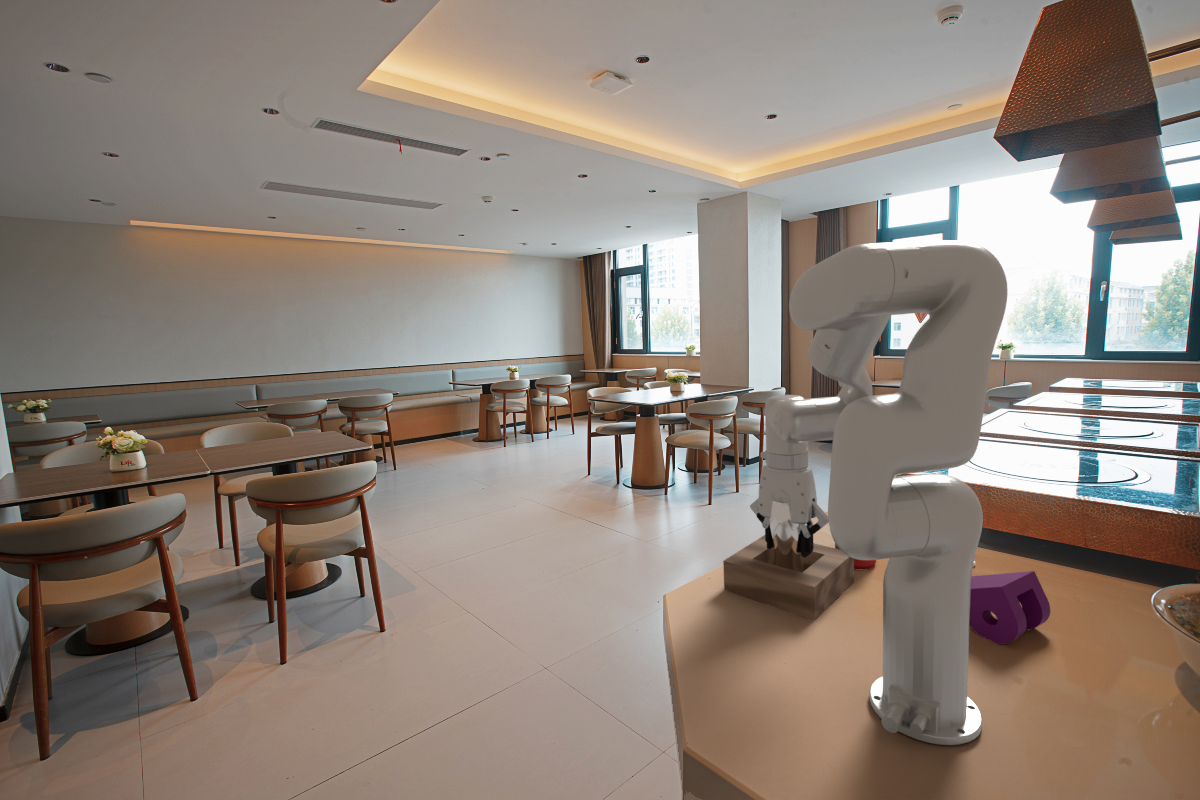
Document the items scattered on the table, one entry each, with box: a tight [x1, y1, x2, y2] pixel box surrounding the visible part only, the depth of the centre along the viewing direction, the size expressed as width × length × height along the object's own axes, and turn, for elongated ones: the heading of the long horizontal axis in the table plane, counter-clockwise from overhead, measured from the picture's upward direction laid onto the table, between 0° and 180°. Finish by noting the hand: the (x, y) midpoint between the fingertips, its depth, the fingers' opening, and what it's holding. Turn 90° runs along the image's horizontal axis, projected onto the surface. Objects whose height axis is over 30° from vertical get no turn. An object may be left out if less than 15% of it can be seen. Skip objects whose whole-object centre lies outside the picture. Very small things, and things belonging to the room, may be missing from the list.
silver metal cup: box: [769, 500, 805, 573], centre depth 106 cm, size 7×7×15 cm
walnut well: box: [722, 534, 855, 621], centre depth 107 cm, size 18×18×6 cm
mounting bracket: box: [969, 570, 1051, 645], centre depth 93 cm, size 9×8×18 cm
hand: (788, 549), depth 107 cm, fingers open, 6 cm apart
